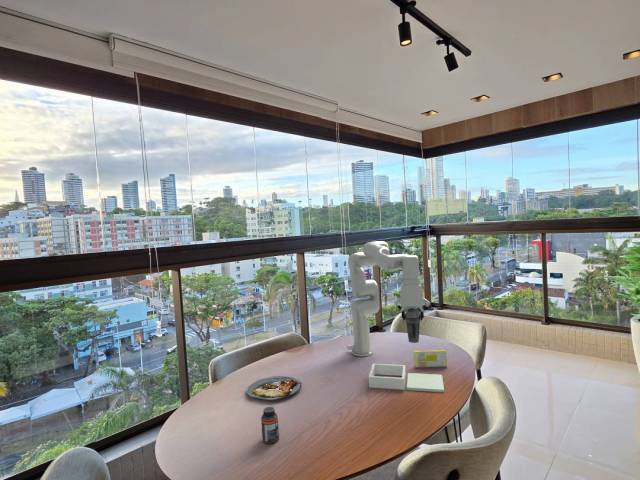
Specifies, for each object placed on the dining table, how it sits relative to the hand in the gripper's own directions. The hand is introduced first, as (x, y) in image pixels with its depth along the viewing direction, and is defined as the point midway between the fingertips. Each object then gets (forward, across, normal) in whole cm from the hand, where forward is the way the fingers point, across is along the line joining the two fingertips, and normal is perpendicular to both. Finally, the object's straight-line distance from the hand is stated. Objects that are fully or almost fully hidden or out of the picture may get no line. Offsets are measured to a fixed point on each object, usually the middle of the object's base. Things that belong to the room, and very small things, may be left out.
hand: (412, 319), depth 169 cm
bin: (+30, -13, 0) cm, 33 cm away
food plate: (+31, -64, -19) cm, 73 cm away
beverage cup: (+11, 0, 0) cm, 11 cm away
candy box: (+30, +7, +21) cm, 38 cm away
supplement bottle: (+30, -49, -56) cm, 80 cm away
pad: (+30, +4, 0) cm, 30 cm away
